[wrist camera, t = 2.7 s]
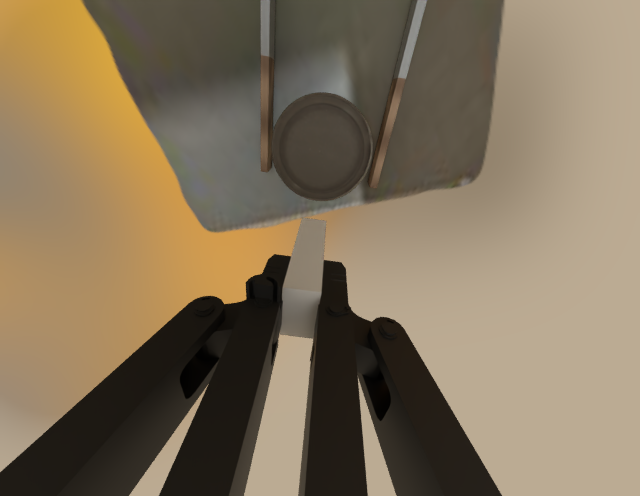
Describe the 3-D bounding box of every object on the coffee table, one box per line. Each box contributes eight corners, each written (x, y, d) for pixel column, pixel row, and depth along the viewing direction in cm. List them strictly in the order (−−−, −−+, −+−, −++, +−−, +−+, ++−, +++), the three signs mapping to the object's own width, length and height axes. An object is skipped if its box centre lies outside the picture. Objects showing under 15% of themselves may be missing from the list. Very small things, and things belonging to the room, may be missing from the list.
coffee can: (295, 170, 39) (278, 203, 27) (287, 96, 34) (262, 96, 22) (358, 168, 38) (370, 200, 26) (360, 91, 33) (376, 88, 21)
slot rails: (266, 58, 31) (260, 54, 29) (400, 80, 32) (405, 78, 29) (265, 166, 39) (260, 171, 36) (373, 182, 39) (376, 188, 37)
